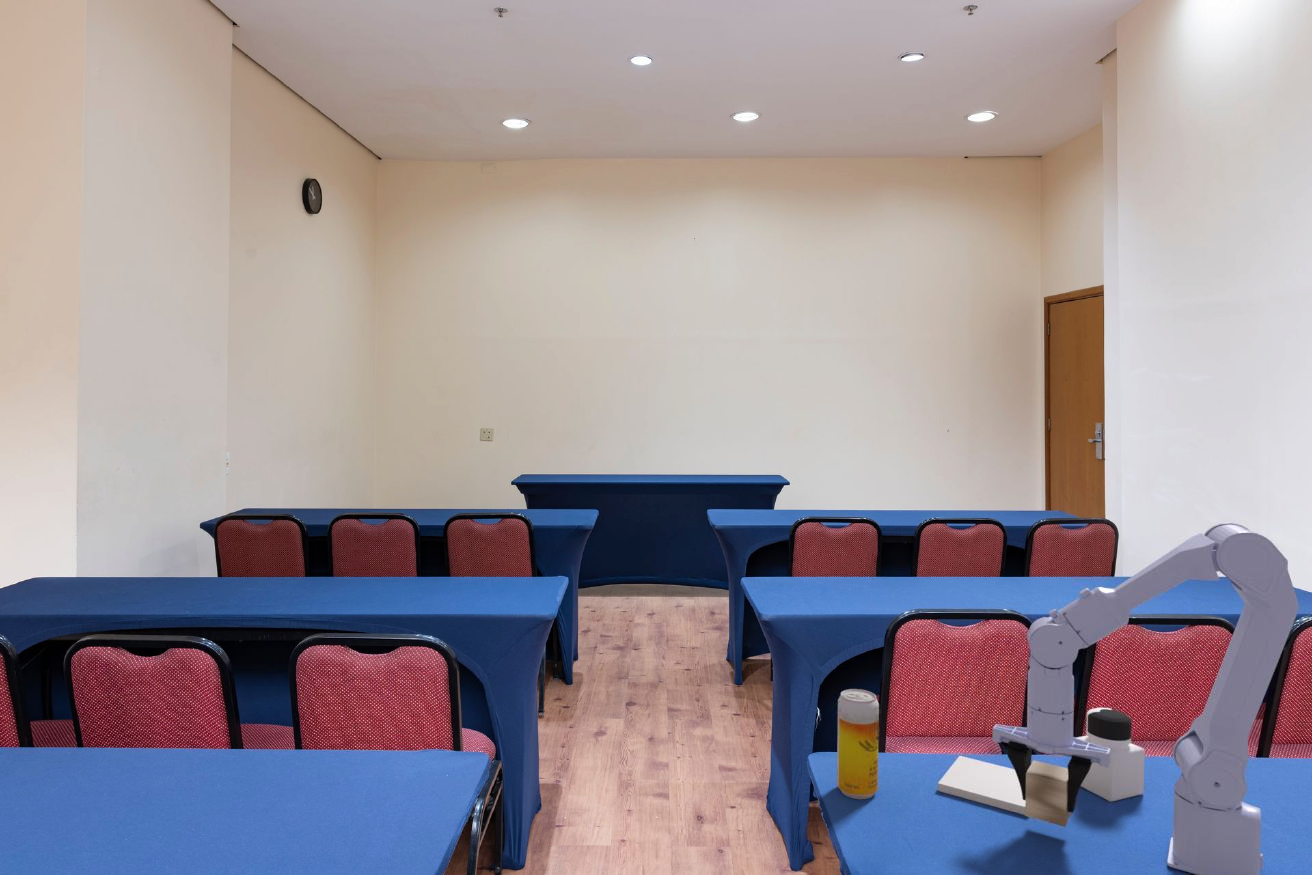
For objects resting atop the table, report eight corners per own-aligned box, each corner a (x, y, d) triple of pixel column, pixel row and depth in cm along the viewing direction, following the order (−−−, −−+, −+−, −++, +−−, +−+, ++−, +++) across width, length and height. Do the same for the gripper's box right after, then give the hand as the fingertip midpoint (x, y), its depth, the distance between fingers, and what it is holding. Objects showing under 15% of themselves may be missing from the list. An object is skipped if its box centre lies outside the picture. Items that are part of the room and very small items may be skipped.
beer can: (879, 802, 119) (880, 703, 119) (837, 798, 121) (838, 700, 120) (876, 783, 125) (877, 689, 125) (836, 780, 126) (837, 686, 126)
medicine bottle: (1144, 794, 122) (1146, 717, 122) (1111, 802, 120) (1113, 723, 119) (1103, 774, 129) (1105, 701, 128) (1070, 781, 126) (1072, 707, 126)
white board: (1045, 784, 125) (1045, 776, 125) (1029, 816, 115) (1029, 807, 115) (959, 762, 133) (959, 755, 133) (937, 790, 123) (937, 782, 123)
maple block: (1071, 811, 111) (1072, 769, 111) (1065, 826, 107) (1066, 782, 107) (1032, 801, 114) (1033, 760, 114) (1025, 815, 110) (1025, 773, 110)
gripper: (987, 703, 111) (986, 799, 112) (1106, 728, 103) (1104, 831, 103) (999, 689, 117) (998, 780, 117) (1113, 711, 108) (1111, 809, 109)
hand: (1048, 803), depth 111 cm, fingers closed on maple block, 5 cm apart
